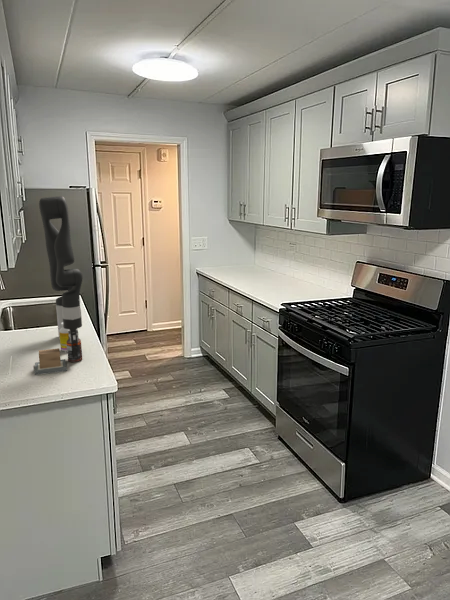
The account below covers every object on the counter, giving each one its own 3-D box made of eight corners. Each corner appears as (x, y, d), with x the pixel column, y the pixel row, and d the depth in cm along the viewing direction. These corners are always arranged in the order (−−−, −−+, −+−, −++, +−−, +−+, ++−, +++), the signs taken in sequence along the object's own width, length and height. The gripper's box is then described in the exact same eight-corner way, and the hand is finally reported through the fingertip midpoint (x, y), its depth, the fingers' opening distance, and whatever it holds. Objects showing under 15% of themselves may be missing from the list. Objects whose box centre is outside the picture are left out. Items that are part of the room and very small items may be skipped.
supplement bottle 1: (71, 352, 210) (69, 325, 208) (57, 351, 212) (55, 324, 209) (78, 347, 217) (76, 321, 214) (65, 347, 218) (63, 320, 215)
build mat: (35, 364, 195) (34, 362, 194) (65, 361, 199) (65, 358, 199) (34, 374, 184) (34, 372, 184) (66, 370, 188) (66, 368, 188)
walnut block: (39, 364, 192) (38, 350, 191) (60, 361, 195) (59, 348, 194) (39, 368, 187) (38, 354, 186) (60, 366, 190) (59, 352, 189)
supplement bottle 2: (77, 356, 204) (75, 332, 202) (85, 359, 201) (83, 334, 198) (65, 360, 200) (63, 335, 198) (73, 363, 196) (71, 337, 194)
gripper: (62, 313, 201) (64, 350, 205) (63, 321, 188) (66, 360, 192) (80, 311, 204) (82, 348, 208) (82, 319, 191) (85, 358, 195)
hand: (74, 354), depth 200 cm, fingers closed on supplement bottle 2, 6 cm apart
